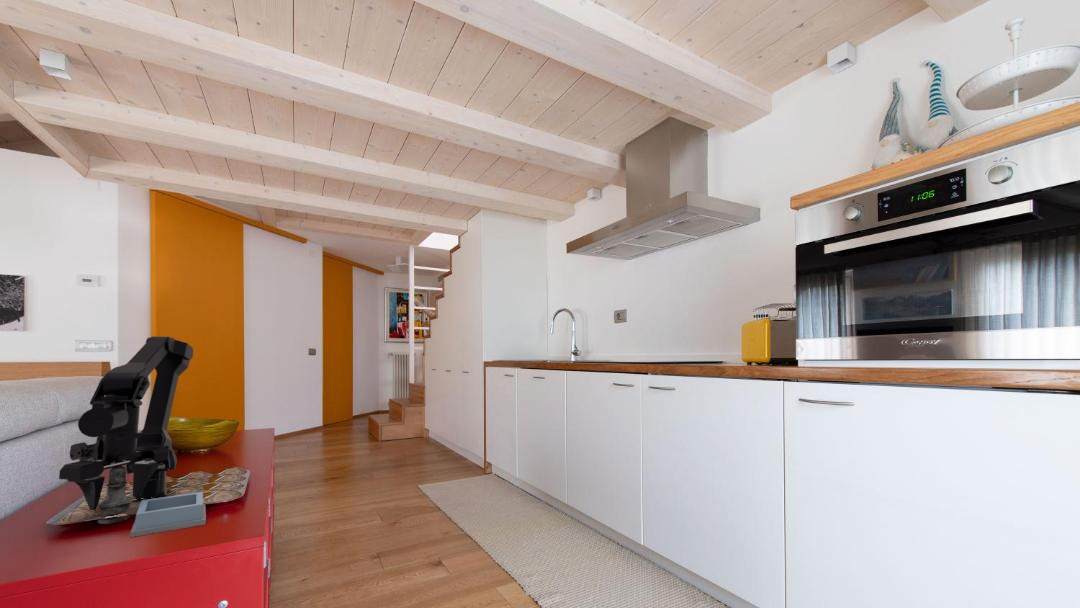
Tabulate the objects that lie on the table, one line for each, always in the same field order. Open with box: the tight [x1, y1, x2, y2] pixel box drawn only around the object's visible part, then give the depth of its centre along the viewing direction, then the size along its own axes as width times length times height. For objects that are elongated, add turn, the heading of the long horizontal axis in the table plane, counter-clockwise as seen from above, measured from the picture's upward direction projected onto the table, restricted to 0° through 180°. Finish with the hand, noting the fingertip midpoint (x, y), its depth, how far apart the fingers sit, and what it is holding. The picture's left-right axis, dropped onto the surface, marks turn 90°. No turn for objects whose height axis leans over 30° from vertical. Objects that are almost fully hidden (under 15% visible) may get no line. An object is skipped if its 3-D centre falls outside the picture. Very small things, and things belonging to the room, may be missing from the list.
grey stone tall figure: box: [97, 465, 134, 525], centre depth 104 cm, size 6×6×12 cm
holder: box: [130, 491, 207, 538], centre depth 102 cm, size 12×12×4 cm
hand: (115, 503), depth 103 cm, fingers closed on grey stone tall figure, 9 cm apart
